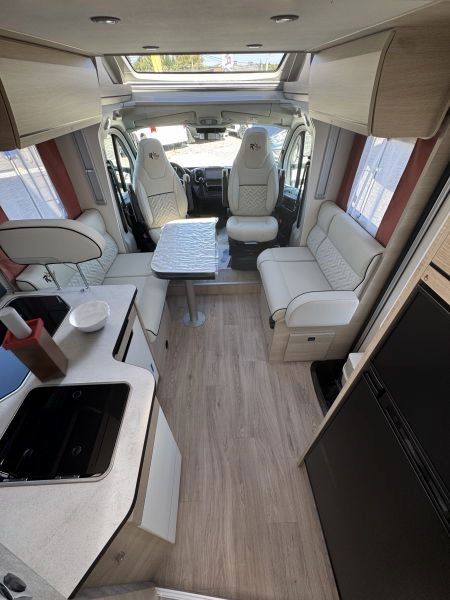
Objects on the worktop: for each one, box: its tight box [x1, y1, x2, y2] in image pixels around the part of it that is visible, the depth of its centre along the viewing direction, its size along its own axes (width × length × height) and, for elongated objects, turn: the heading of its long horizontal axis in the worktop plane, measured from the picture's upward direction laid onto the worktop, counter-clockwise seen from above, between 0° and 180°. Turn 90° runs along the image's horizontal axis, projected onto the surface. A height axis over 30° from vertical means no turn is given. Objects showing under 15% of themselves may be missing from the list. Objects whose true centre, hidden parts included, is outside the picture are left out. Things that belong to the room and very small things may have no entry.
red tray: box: [1, 317, 44, 352], centre depth 91 cm, size 10×10×2 cm
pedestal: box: [9, 326, 69, 384], centre depth 100 cm, size 9×9×23 cm
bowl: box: [68, 300, 111, 333], centre depth 125 cm, size 18×18×7 cm
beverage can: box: [0, 306, 32, 339], centre depth 88 cm, size 5×5×12 cm
